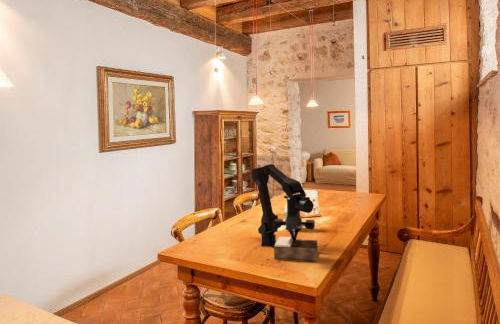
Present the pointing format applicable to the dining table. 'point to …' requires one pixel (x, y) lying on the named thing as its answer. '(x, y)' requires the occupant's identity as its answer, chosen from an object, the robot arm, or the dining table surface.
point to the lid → (284, 242)
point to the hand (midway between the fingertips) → (294, 241)
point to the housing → (298, 251)
